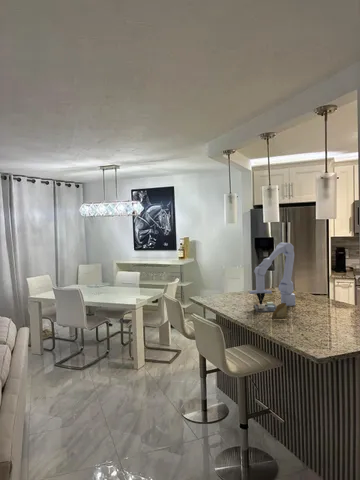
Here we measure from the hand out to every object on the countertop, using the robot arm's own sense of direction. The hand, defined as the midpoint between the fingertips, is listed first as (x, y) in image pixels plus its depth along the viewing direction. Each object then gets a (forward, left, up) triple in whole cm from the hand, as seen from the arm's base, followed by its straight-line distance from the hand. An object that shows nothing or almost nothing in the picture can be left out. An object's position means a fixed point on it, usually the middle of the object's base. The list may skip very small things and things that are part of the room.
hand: (260, 304), depth 242 cm
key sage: (-6, 0, -1) cm, 6 cm away
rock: (-9, +23, -4) cm, 25 cm away
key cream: (0, +6, -1) cm, 6 cm away
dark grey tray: (-3, +3, -3) cm, 6 cm away
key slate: (-6, +6, -2) cm, 9 cm away
